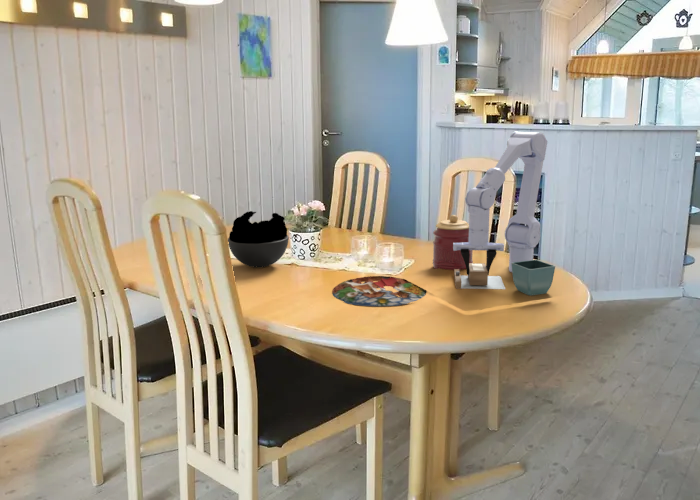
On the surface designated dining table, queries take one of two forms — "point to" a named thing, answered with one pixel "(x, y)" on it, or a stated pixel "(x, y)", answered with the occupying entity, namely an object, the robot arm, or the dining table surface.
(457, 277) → the wall panel
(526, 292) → the flower pot
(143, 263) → the dining table surface
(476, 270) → the frame
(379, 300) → the decorative plaque
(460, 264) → the canister
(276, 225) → the coal bowl
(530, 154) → the robot arm
